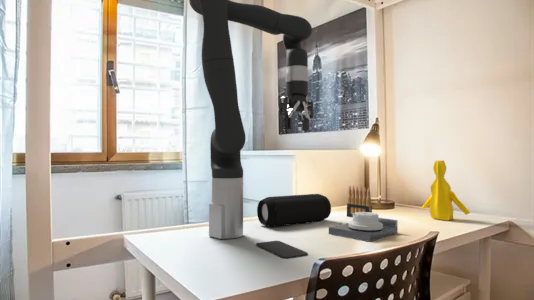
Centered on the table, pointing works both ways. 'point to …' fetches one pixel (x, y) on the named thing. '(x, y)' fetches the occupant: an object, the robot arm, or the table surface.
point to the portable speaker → (293, 209)
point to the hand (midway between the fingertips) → (296, 130)
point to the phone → (281, 249)
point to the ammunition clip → (358, 201)
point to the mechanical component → (365, 221)
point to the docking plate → (366, 231)
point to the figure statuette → (442, 196)
